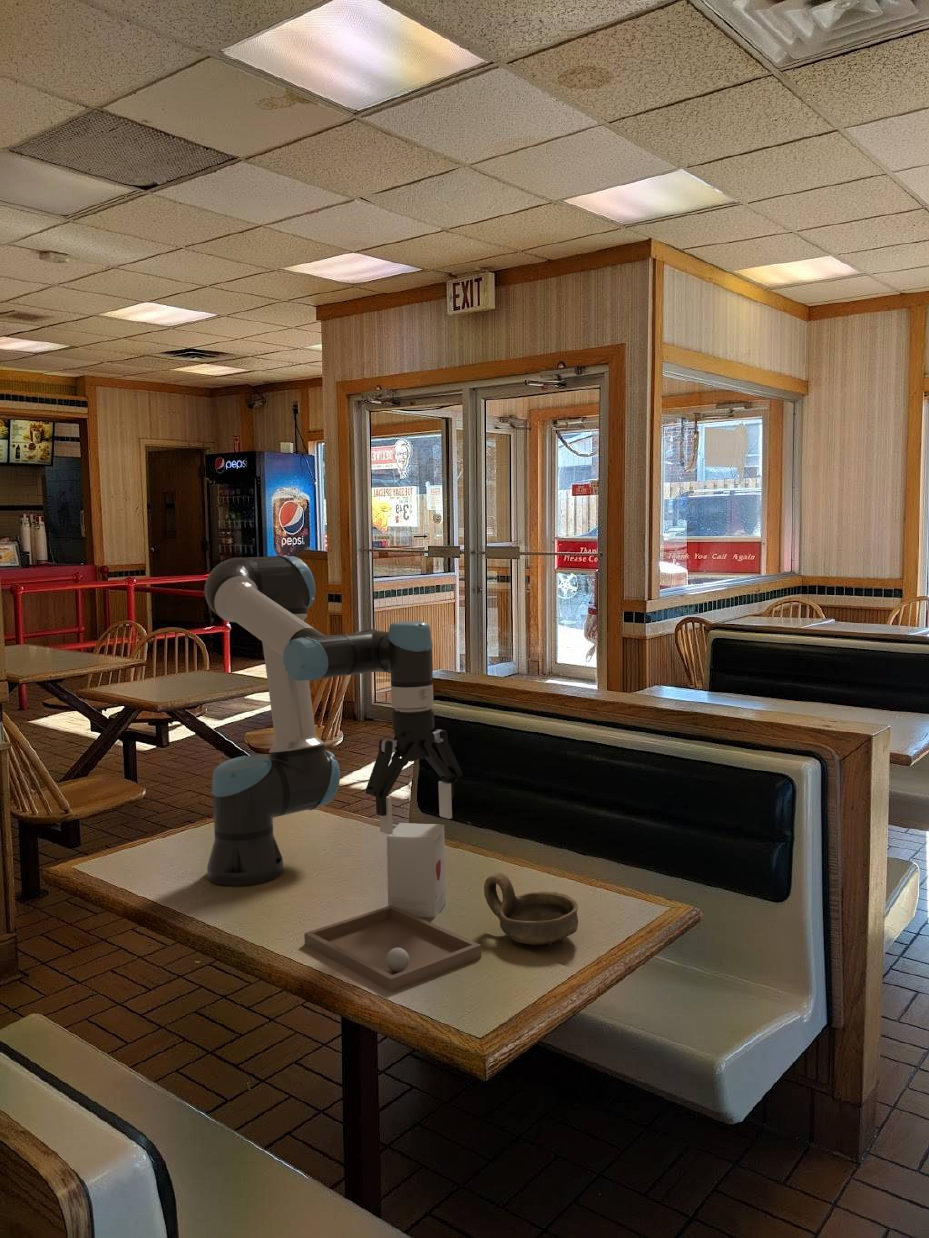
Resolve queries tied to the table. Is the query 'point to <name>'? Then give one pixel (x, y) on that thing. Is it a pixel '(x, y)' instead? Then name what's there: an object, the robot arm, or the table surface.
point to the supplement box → (417, 868)
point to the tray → (392, 946)
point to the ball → (397, 959)
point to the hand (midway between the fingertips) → (416, 825)
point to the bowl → (531, 912)
